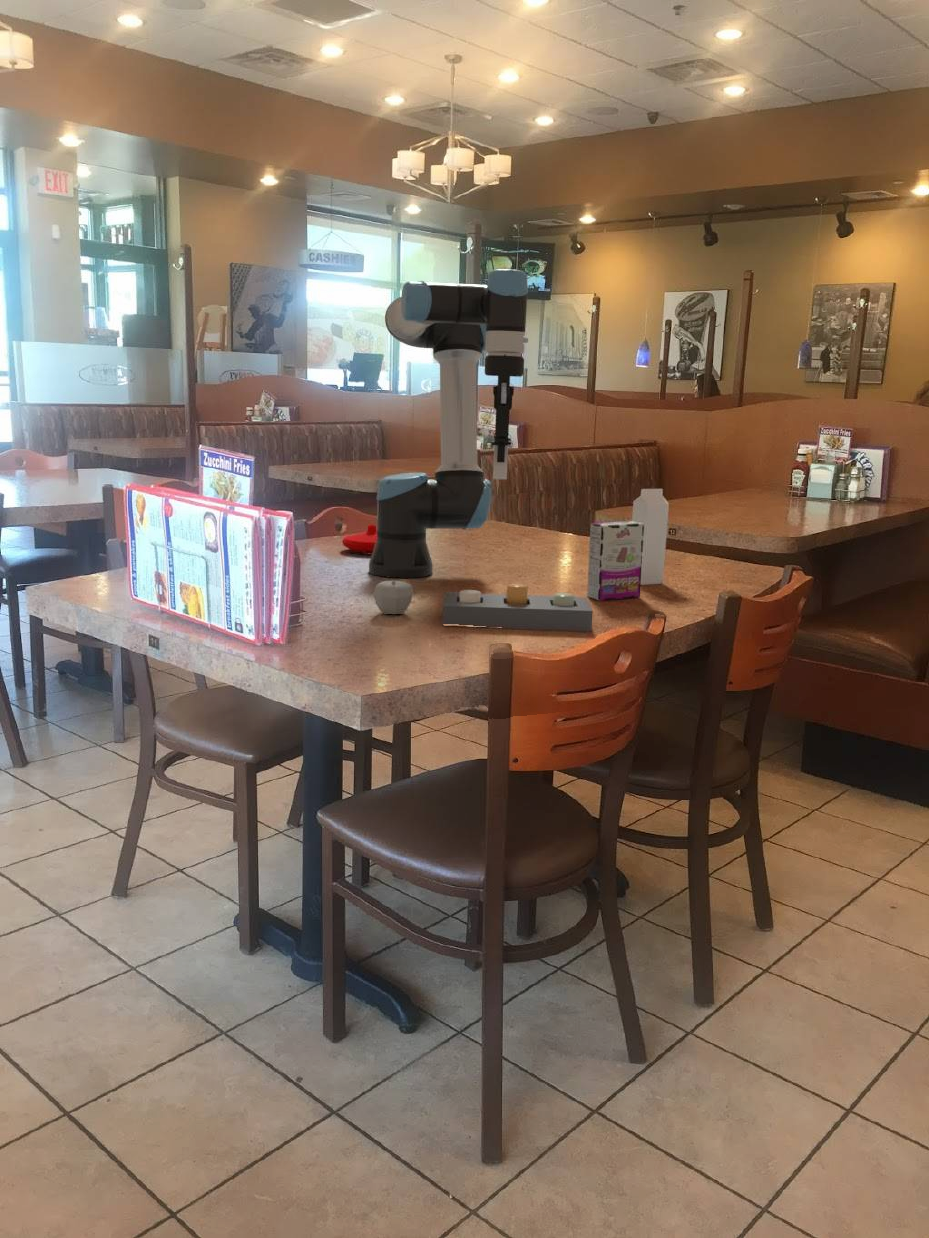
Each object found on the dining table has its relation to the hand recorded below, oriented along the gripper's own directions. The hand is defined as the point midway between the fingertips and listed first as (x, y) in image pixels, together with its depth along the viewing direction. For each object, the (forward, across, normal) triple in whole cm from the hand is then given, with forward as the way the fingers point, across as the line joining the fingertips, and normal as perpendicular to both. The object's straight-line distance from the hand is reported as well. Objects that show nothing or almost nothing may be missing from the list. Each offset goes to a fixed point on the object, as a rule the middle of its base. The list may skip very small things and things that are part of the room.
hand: (499, 478), depth 197 cm
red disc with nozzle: (+27, +64, +32) cm, 76 cm away
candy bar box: (+27, +16, -26) cm, 40 cm away
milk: (+27, +35, -36) cm, 57 cm away
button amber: (+24, -10, -4) cm, 26 cm away
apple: (+27, -7, +20) cm, 34 cm away
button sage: (+25, -10, -13) cm, 30 cm away
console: (+26, -10, -4) cm, 29 cm away
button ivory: (+25, -10, +5) cm, 28 cm away
